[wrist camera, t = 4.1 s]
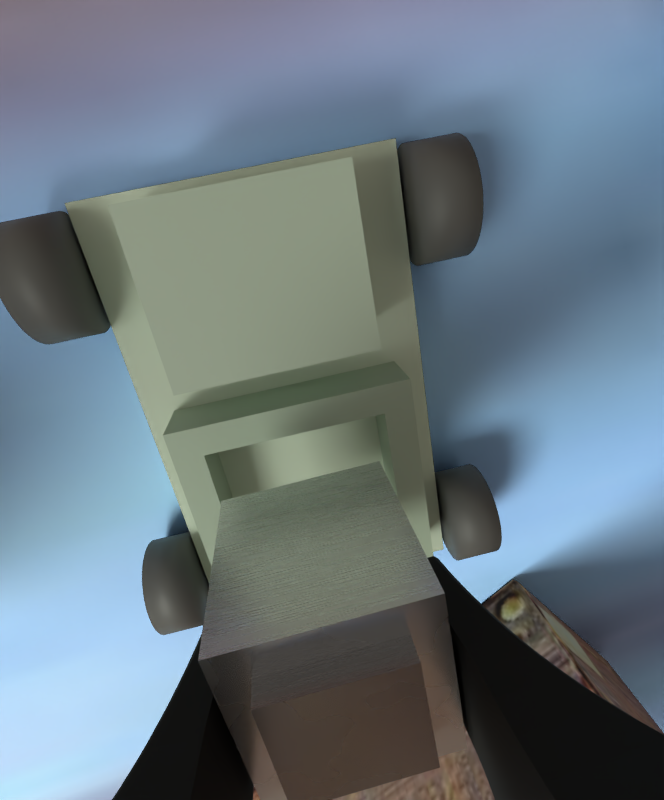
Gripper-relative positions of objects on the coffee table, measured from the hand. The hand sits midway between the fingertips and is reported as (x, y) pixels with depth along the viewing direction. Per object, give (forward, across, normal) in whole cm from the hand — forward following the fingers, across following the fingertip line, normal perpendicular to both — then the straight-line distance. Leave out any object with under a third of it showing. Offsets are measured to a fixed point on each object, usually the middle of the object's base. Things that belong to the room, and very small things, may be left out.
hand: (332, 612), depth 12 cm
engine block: (+2, 0, 0) cm, 2 cm away
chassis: (+8, 0, -3) cm, 9 cm away
